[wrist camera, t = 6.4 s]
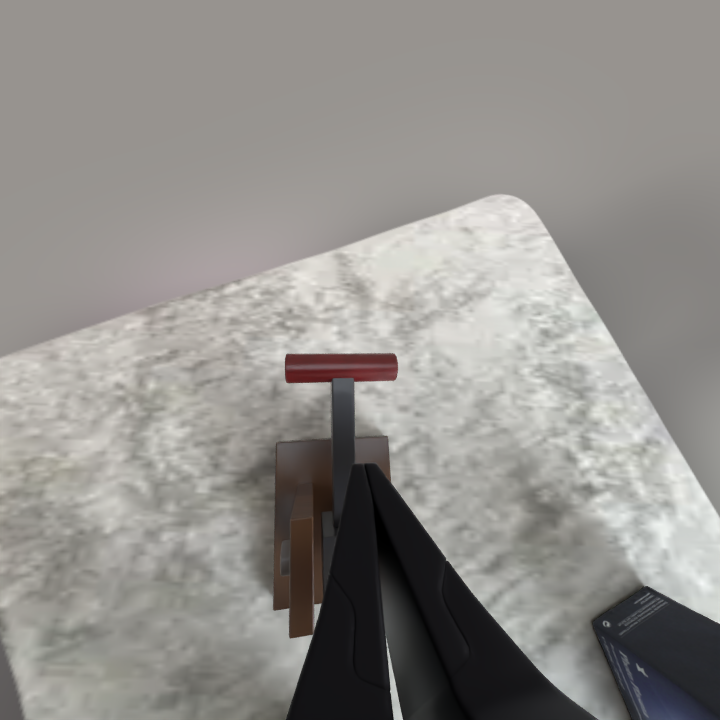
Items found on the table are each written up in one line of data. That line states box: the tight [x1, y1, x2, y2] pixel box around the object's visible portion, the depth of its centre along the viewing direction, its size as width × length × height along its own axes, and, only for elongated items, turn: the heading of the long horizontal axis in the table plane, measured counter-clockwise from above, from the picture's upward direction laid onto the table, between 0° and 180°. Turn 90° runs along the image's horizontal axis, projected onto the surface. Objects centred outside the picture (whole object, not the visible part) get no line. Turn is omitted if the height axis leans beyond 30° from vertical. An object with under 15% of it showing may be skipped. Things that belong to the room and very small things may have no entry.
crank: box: [285, 353, 398, 596], centre depth 14 cm, size 11×6×2 cm, turn 2°
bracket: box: [273, 435, 391, 638], centre depth 16 cm, size 10×8×8 cm
